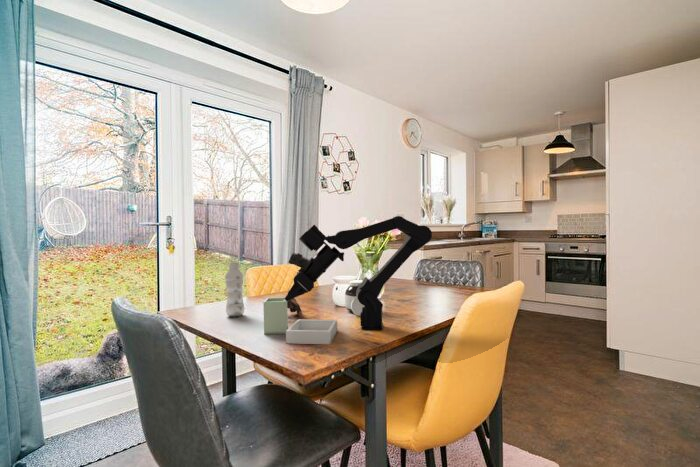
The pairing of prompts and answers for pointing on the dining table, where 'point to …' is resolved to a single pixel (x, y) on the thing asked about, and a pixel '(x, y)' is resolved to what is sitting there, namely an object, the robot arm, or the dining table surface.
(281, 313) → the green crate
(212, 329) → the dining table surface
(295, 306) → the pottery mug
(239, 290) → the plastic bottle
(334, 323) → the grey crate
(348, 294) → the spread jar
